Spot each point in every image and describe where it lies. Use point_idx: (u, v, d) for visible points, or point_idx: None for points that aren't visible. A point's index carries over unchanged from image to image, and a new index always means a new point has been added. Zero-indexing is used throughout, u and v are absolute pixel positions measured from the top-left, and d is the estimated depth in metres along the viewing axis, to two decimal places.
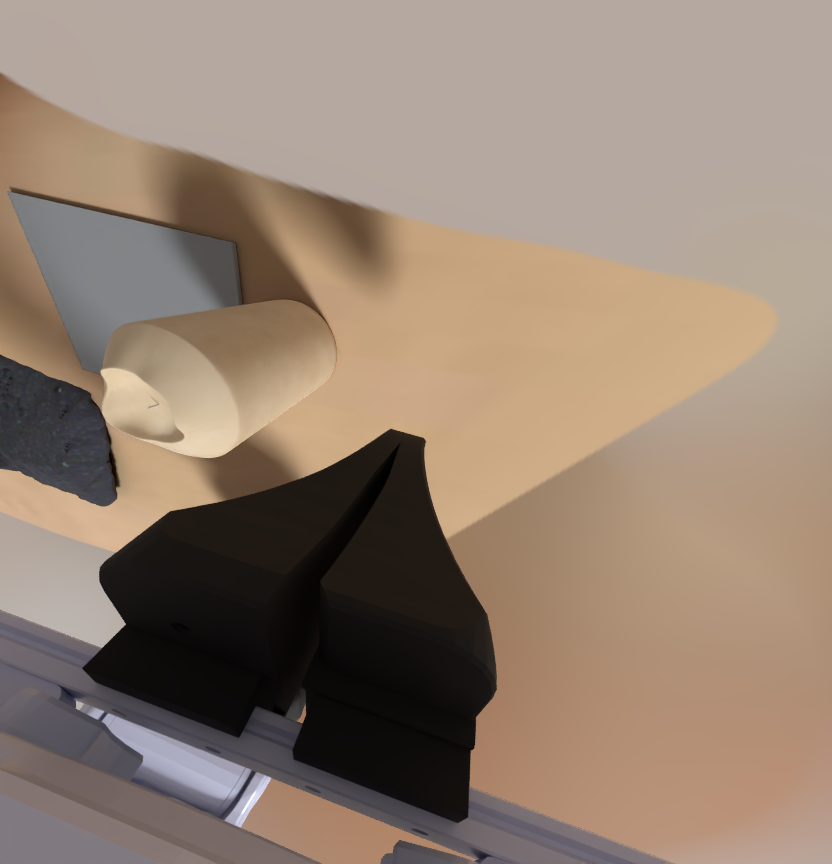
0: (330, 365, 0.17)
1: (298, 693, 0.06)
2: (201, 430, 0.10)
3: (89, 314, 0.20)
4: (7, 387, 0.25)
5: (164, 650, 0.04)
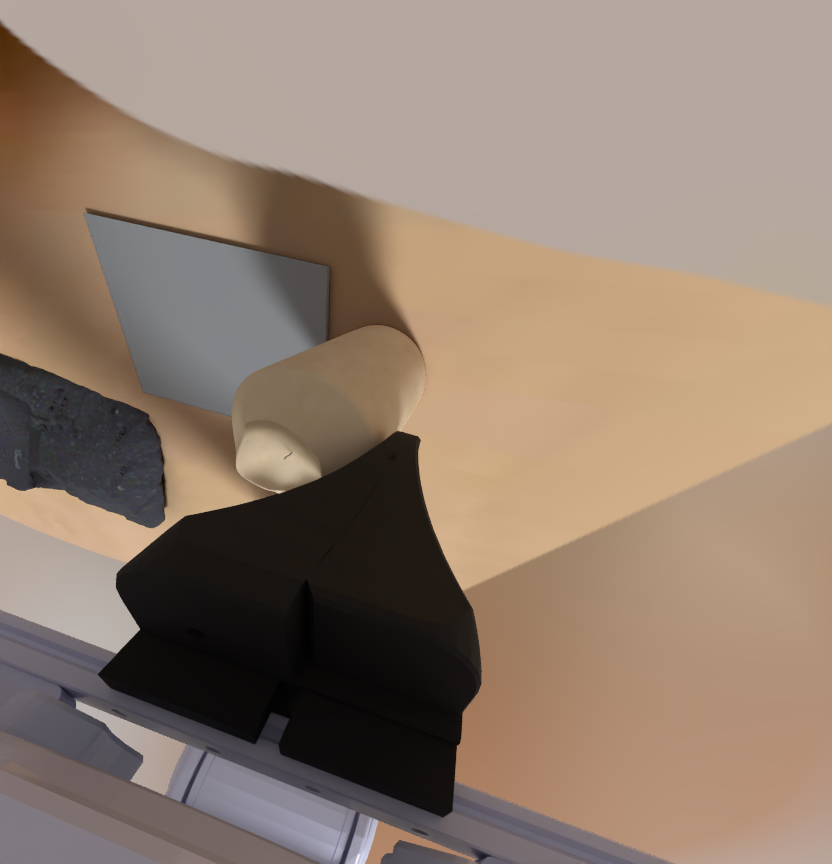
0: (421, 393, 0.16)
1: None
2: None
3: (158, 337, 0.19)
4: (60, 408, 0.24)
5: (179, 656, 0.04)
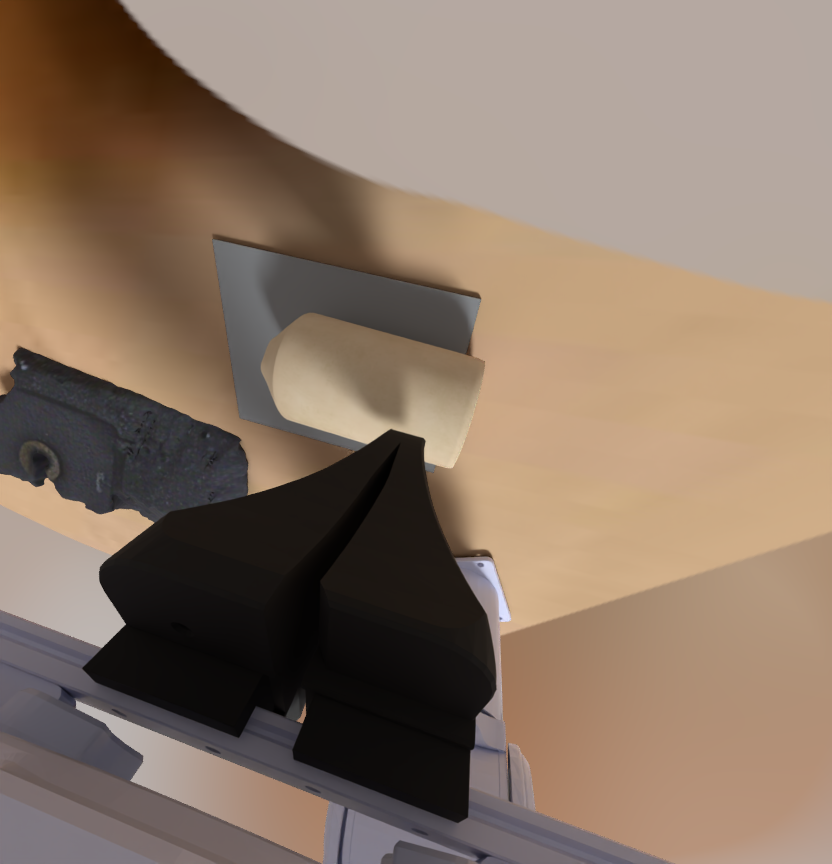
0: (438, 441, 0.12)
1: (298, 693, 0.06)
2: (267, 383, 0.14)
3: None
4: (148, 430, 0.23)
5: (164, 650, 0.04)
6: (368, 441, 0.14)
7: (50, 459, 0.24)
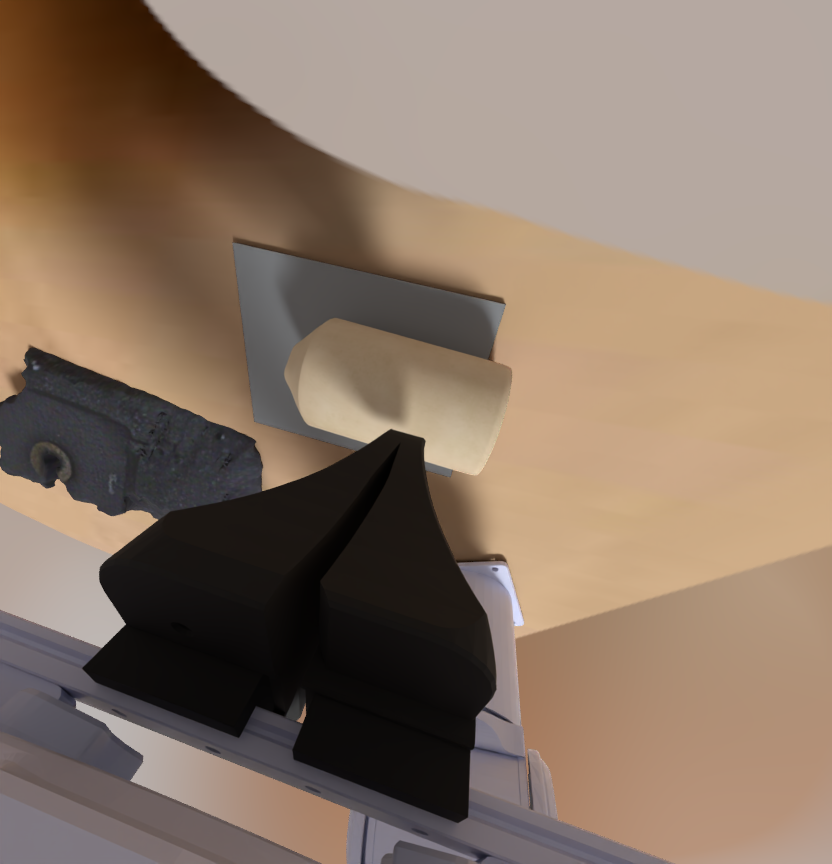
0: (466, 449, 0.12)
1: (298, 693, 0.06)
2: (290, 389, 0.13)
3: None
4: (162, 432, 0.23)
5: (164, 650, 0.04)
6: None
7: (62, 460, 0.23)
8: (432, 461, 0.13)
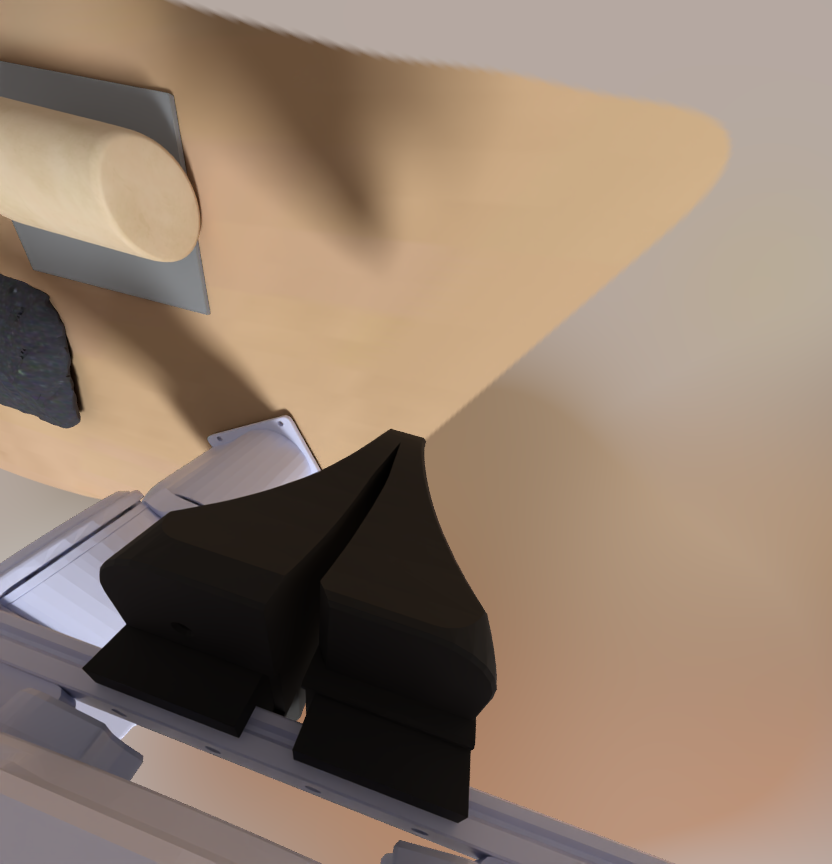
0: (79, 192, 0.13)
1: (298, 693, 0.06)
2: None
3: None
4: None
5: (164, 650, 0.04)
6: (47, 216, 0.14)
7: None
8: (85, 229, 0.15)
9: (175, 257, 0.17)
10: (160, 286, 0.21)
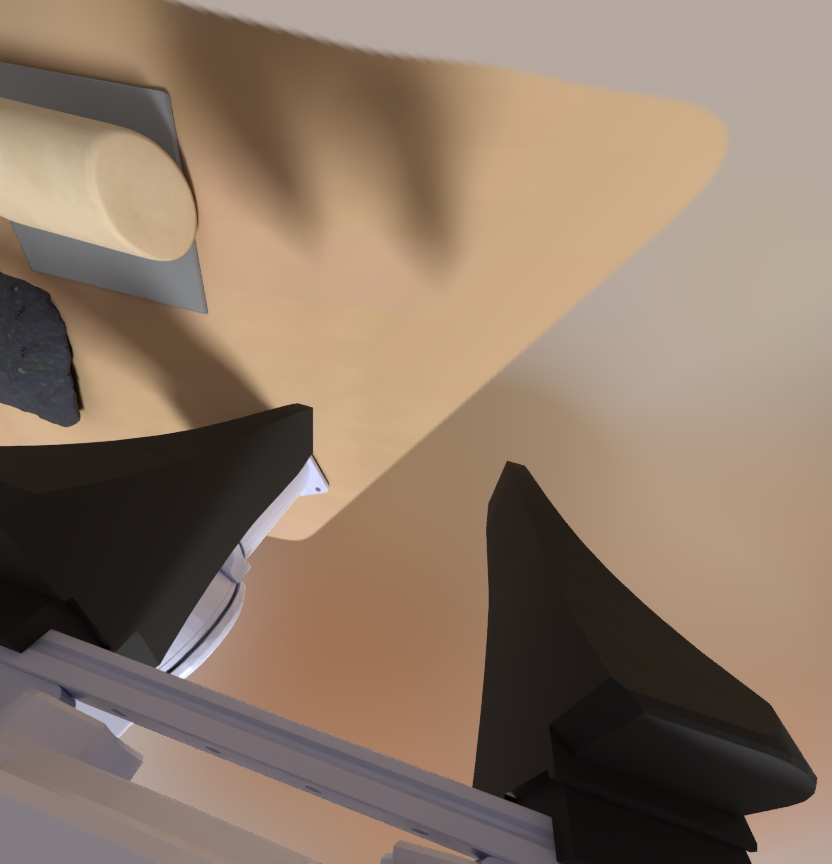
0: (74, 191, 0.13)
1: (141, 635, 0.06)
2: None
3: None
4: None
5: None
6: (44, 215, 0.15)
7: None
8: (81, 228, 0.15)
9: (172, 256, 0.17)
10: (158, 285, 0.21)
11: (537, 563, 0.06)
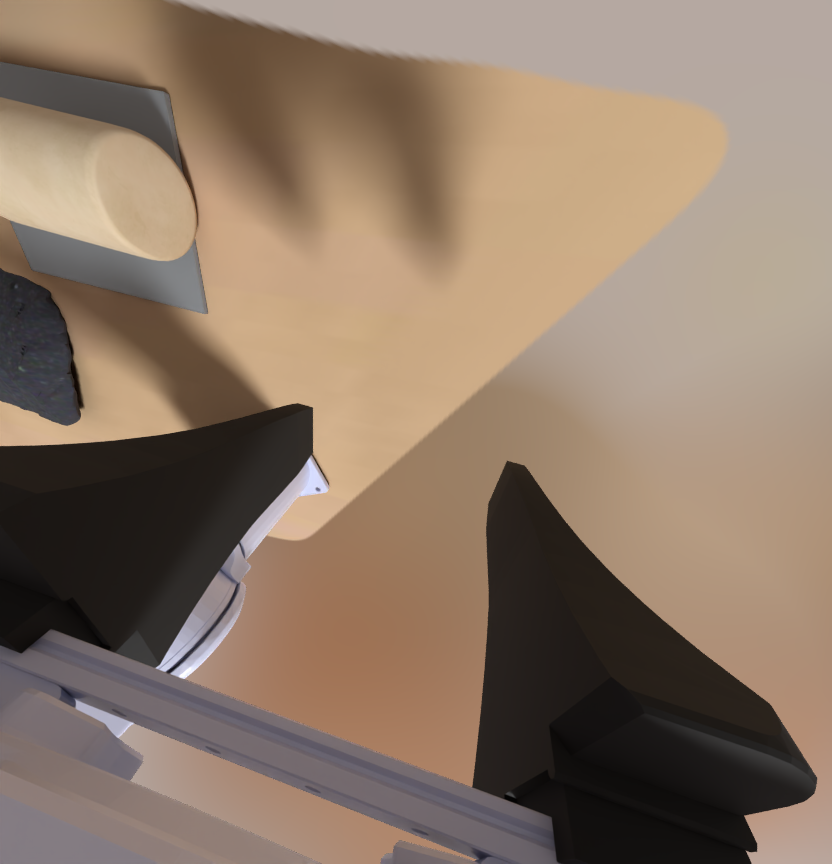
0: (74, 191, 0.13)
1: (141, 635, 0.06)
2: None
3: None
4: None
5: None
6: (44, 215, 0.15)
7: None
8: (81, 228, 0.15)
9: (172, 256, 0.17)
10: (158, 285, 0.21)
11: (537, 563, 0.06)
